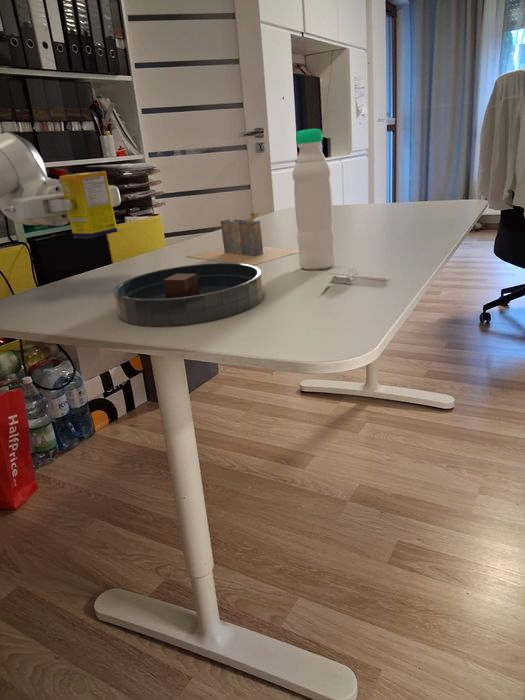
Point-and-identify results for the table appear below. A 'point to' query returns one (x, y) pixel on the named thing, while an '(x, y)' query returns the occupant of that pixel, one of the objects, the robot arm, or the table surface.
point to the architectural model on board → (243, 244)
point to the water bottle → (313, 203)
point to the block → (181, 286)
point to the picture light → (349, 277)
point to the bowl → (213, 302)
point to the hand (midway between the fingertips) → (91, 201)
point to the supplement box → (89, 204)
